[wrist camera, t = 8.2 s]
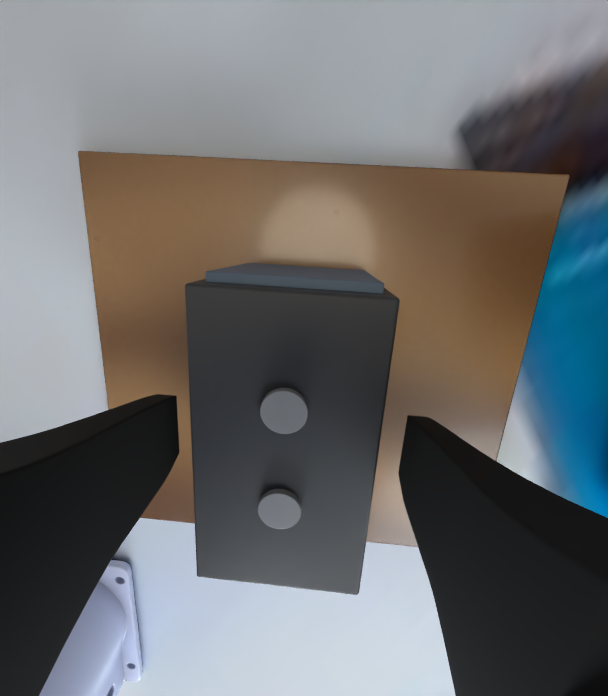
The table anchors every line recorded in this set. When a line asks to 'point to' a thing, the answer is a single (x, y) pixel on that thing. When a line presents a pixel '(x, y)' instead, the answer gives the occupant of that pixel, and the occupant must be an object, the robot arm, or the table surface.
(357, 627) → the table surface
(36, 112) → the table surface
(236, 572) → the speaker
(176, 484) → the cork mat
